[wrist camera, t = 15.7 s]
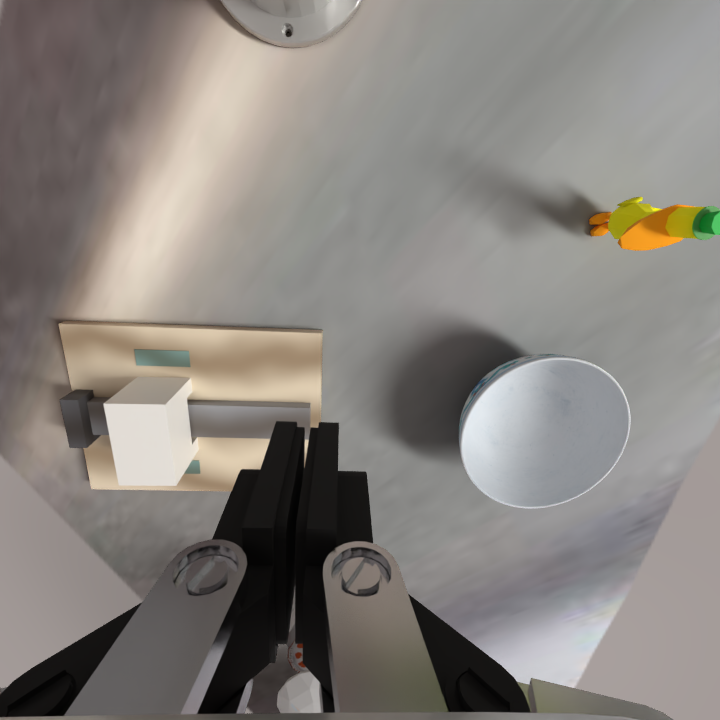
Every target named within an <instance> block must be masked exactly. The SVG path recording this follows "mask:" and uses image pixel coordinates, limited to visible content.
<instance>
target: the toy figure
mask: <svg viewBox="0 0 720 720" xmlns="http://www.w3.org/2000/svg"><path fill="white" fill-rule="evenodd" d="M642 199H643V198H642V197H636V198H632V199H629V200H626V201H624V202H622V203H620V204H618V206H620V207H619V208H618V209H616V210H615V211H614V212H613V213H612V214H611V212H608V213H600V214H596V215H594V216H593V217H591V218H590V219H589V223H590V225H598V226H596V227H594V228H593V229H592V230H591V231H590V232H591V236H602V235H604V234H606V233H607V232H608V231H610V232H611V234H612V235H613V237H614V238H615V239H619V241H618V244H619V245H620V246H621V248H623V249H629V250H635V251H636V250H651V249H655V248H659V247H664V246H667V245H670V244H673V243H676V242H679V241H681V240H682V239H683V238H696V239H700V240H707V239H710V238H712V237H713V236H714V235H720V210H719V209H718V208H717V207H714V206H708V207H693V206H685V205H674V206H670V207H668V208H665V209H658V208H652V207H651V205H650V204H642V203H638V202H640V201H642ZM608 220H609V223H605V222H606V221H608ZM603 223H605V224H603Z"/></svg>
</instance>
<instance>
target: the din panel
mask: <svg viewBox="0 0 720 720" xmlns="http://www.w3.org/2000/svg"><path fill="white" fill-rule="evenodd" d="M59 329H60V334H61V339H62V344H63V349H64V354H65V359H66V364H67V369H68V374H69V379H70V384H71V389H72V392H71V393H69V394H68V395H66V396H65V397H63V398H62V399H60V404H61V409H62V414H63V419H64V423H65V428H66V433H67V437H68V442H69V447H70V448H83V449H84V454H85V459H86V464H87V469H88V474H89V479H90V484H91V489H116V490H180V491H232V489H233V487H234V484H235V482H236V479H237V477H238V474H239V472H240V470H242V469H261V466H262V463H263V460H264V457H265V454H266V451H267V448H268V445H269V442H270V438H271V435H272V432H273V429H274V426H275V423H276V421H291V422H297V427H304V428H305V461H306V455H307V448H308V441H309V435H310V428H311V427H315V428H318V425H319V422H321V386H322V334H323V330H307V329H280V328H253V327H226V326H199V325H172V324H145V323H118V322H91V321H64V322H62V323H59ZM137 377H180V378H191V383H192V393H191V394H190V395H189V396H188V398H187V404H188V412H189V421H190V430H191V437H197V439H198V448H199V450H198V452H197V453H196V455H195V456H194V458H193V460H192V461H191V463H190V465H189V466H188V468H187V469H186V471H185V473H184V474H183V476H182V477H181V479H180V481H179V482H178V484H177V485H176V486H121V485H119V484H118V479H117V473H116V468H115V463H114V457H113V452H112V447H111V441H110V436H109V431H108V426H107V420H106V415H105V410H104V403H105V402H106V401H107V400H109V399H110V398H111V397H113V396H114V395H115V394H116V393H118V392H119V391H120V390H122V389H123V388H124V387H125V386H127V385H128V384H129V383H131V382H132V381H133V380H134V379H136V378H137ZM305 461H304V468H305Z"/></svg>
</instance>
